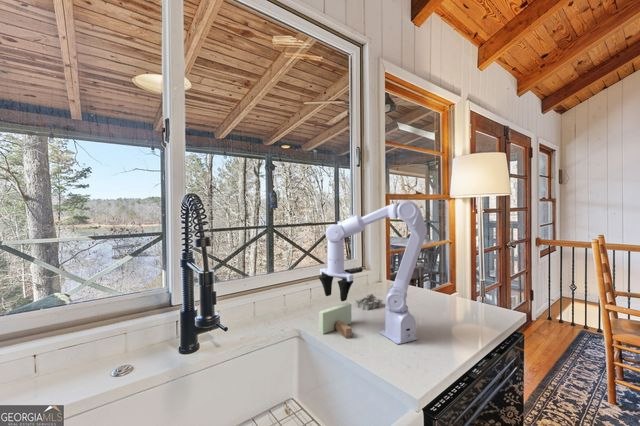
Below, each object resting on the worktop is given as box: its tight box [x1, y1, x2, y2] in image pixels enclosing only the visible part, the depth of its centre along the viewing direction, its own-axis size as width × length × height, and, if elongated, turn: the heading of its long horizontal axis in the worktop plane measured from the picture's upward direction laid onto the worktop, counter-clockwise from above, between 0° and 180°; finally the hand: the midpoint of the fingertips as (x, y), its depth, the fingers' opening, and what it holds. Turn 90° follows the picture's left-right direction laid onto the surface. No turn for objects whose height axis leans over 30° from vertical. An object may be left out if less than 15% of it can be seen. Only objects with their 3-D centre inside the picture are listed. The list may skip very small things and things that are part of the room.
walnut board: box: [334, 320, 353, 339], centre depth 102 cm, size 18×2×3 cm, turn 25°
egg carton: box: [354, 293, 384, 311], centre depth 125 cm, size 11×8×4 cm
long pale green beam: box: [318, 302, 352, 335], centre depth 102 cm, size 14×2×7 cm, turn 132°
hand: (335, 298), depth 102 cm, fingers open, 7 cm apart
